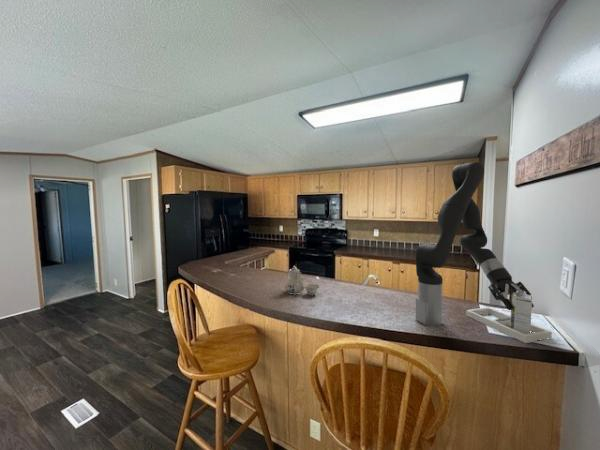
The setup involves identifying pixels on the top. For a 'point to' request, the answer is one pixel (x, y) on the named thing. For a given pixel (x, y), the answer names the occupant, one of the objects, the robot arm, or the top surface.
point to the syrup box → (521, 313)
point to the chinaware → (299, 283)
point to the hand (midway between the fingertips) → (521, 308)
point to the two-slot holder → (507, 325)
